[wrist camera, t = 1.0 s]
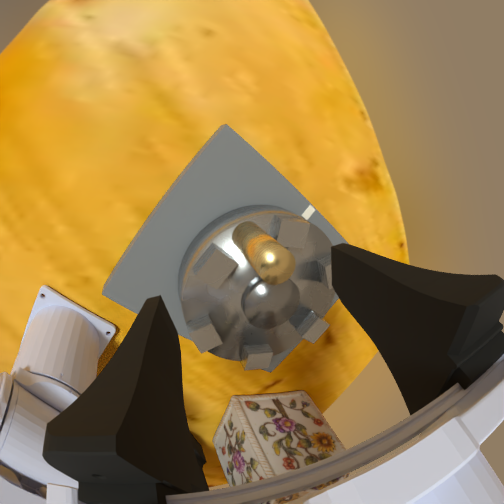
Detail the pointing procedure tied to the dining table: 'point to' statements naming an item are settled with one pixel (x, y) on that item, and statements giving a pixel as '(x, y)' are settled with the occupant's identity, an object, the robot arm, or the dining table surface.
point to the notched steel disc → (256, 284)
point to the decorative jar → (273, 439)
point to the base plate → (202, 222)
